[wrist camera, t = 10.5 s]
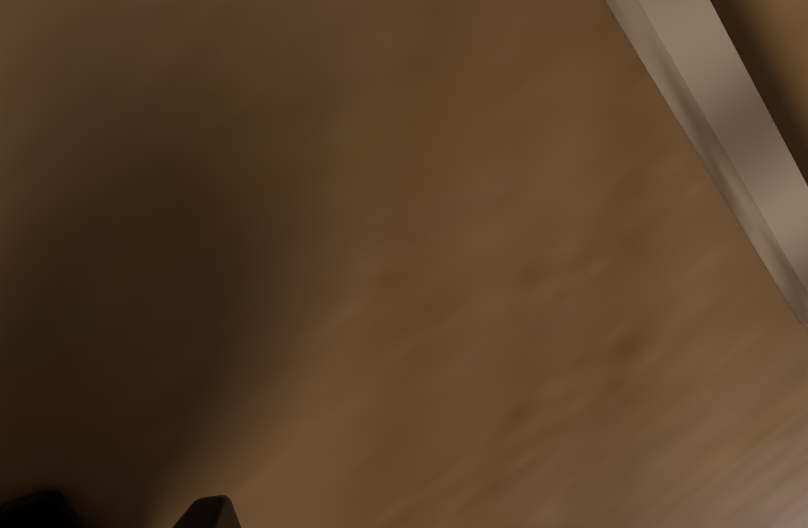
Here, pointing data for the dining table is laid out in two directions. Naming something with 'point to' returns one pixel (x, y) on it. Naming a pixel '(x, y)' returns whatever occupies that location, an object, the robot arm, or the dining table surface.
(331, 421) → the dining table surface
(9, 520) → the robot arm
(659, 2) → the guide channel
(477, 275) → the dining table surface
